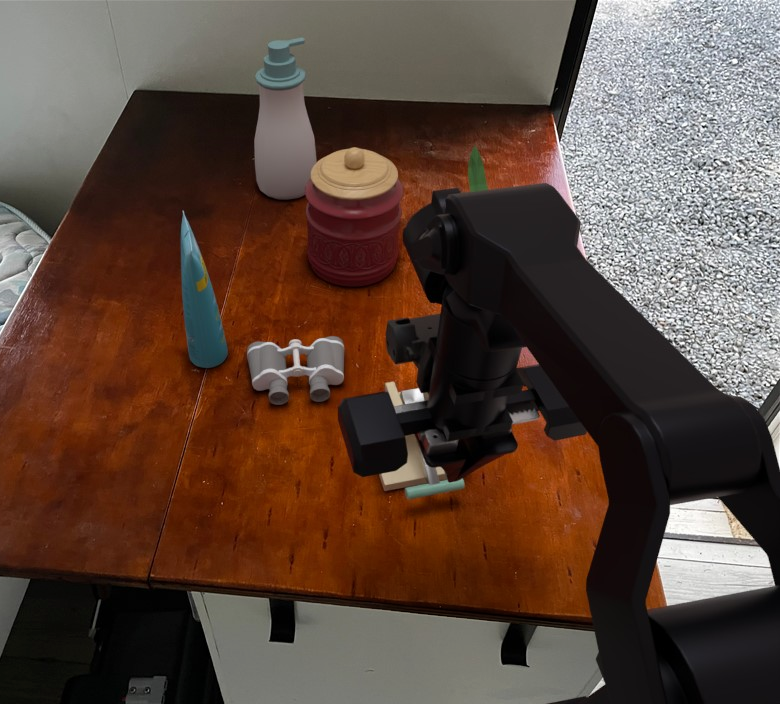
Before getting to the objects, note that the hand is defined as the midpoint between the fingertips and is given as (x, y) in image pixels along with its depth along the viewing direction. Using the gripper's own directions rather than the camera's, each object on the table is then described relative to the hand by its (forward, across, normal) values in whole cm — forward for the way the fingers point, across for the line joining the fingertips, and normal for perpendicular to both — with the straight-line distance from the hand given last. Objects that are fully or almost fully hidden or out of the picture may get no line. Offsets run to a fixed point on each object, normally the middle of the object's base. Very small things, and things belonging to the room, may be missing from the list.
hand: (451, 477), depth 60 cm
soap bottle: (+13, +2, -68) cm, 69 cm away
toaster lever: (+10, -1, -10) cm, 14 cm away
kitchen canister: (+13, -3, -46) cm, 48 cm away
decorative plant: (+13, -22, -43) cm, 50 cm away
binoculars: (+13, +9, -26) cm, 30 cm away
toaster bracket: (+13, -2, -14) cm, 19 cm away
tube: (+13, +19, -32) cm, 40 cm away
